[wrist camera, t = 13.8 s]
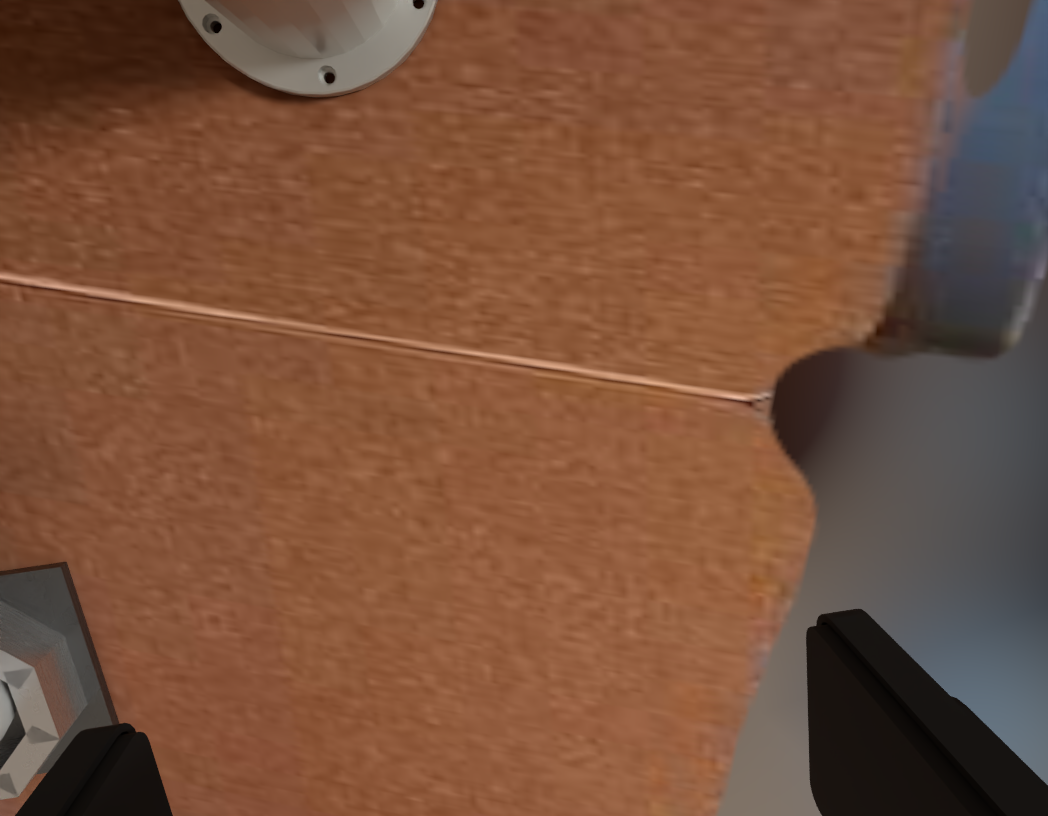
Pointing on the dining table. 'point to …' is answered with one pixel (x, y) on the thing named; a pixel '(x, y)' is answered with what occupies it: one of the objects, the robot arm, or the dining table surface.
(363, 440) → the dining table surface
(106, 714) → the ring collar
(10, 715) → the grey peg
